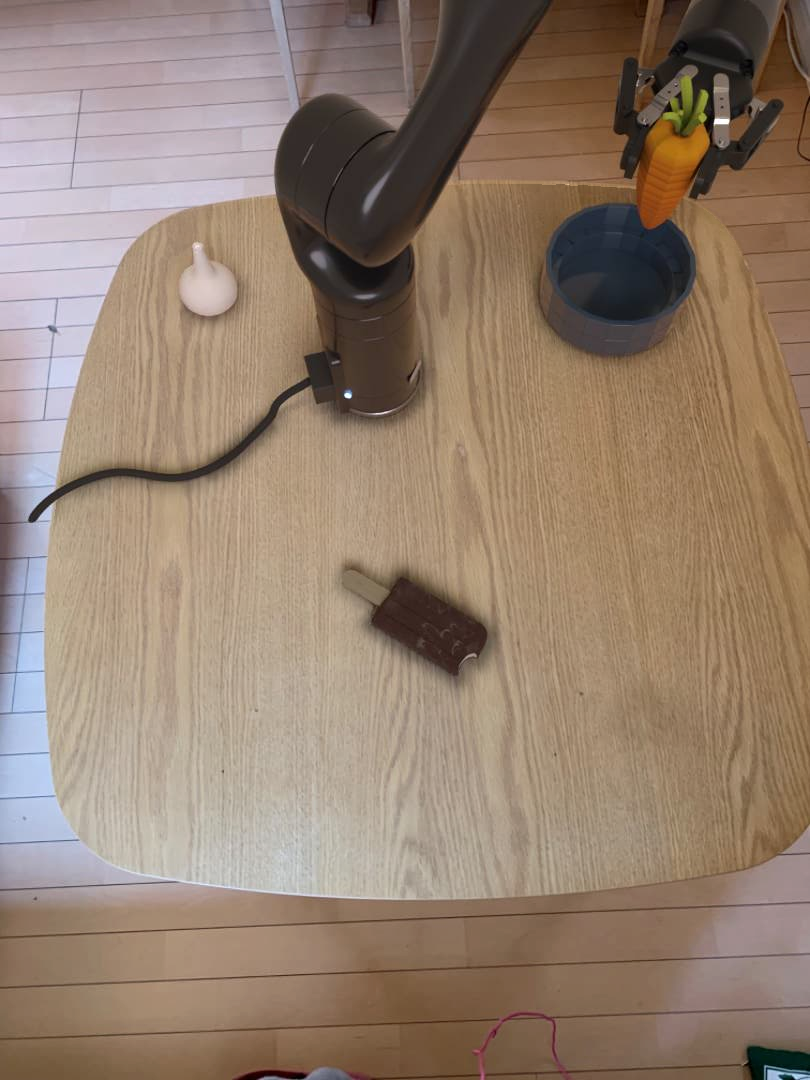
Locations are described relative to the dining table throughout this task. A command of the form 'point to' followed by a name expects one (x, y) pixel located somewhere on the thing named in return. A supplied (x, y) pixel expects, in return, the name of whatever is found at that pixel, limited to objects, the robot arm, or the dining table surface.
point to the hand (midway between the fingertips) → (662, 180)
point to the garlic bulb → (207, 285)
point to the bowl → (615, 279)
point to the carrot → (671, 157)
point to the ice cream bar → (421, 621)
